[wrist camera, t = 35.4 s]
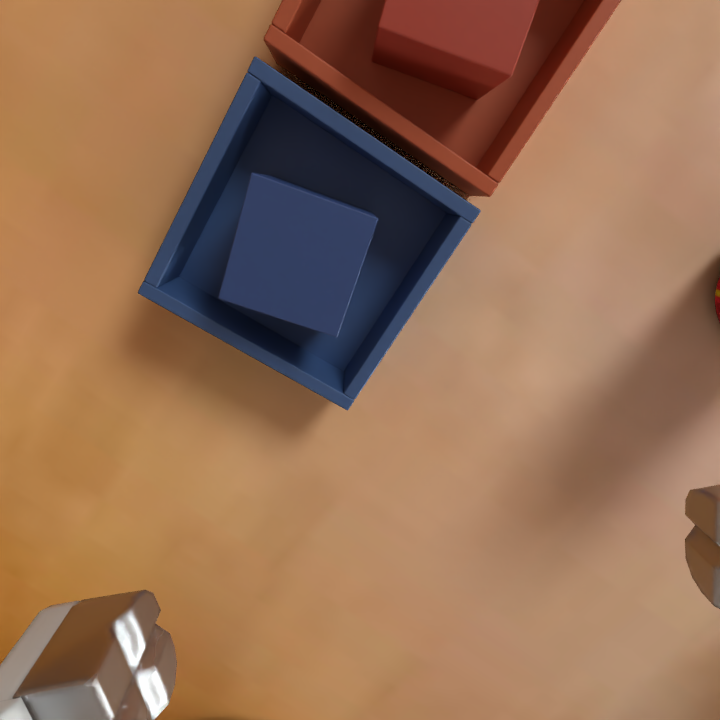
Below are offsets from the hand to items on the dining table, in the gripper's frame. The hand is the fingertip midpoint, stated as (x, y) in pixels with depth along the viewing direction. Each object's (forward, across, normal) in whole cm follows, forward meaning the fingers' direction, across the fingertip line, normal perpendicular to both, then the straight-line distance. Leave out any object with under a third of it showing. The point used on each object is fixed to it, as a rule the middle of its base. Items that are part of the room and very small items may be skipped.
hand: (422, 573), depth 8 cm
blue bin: (+18, +2, -4) cm, 19 cm away
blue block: (+18, +2, -4) cm, 18 cm away
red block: (+18, -5, -12) cm, 22 cm away
